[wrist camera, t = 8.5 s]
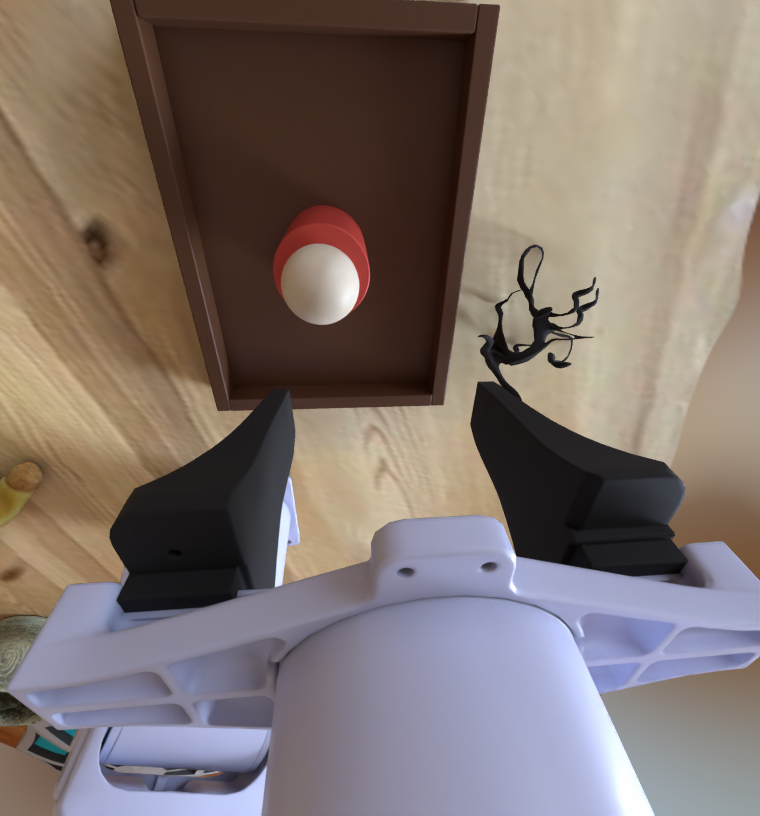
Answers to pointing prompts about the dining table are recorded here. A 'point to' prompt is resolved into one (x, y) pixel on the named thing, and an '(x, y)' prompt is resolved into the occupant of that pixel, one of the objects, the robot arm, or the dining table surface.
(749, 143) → the dining table surface
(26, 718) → the vessel
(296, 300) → the peg doll
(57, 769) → the decorative platform
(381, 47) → the tray
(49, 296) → the dining table surface
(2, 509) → the giraffe plush
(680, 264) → the dining table surface
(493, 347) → the creature
